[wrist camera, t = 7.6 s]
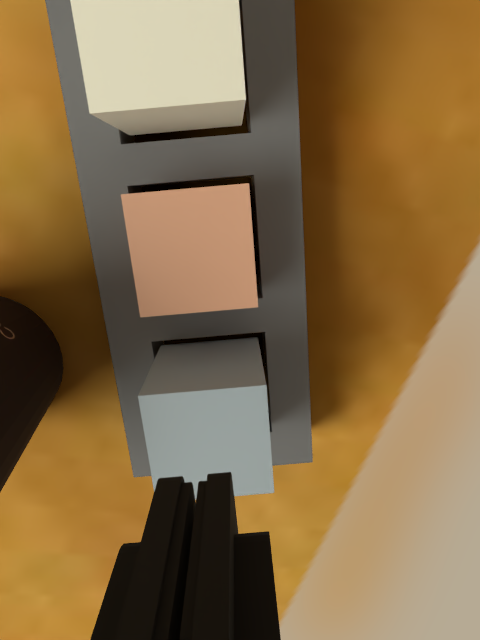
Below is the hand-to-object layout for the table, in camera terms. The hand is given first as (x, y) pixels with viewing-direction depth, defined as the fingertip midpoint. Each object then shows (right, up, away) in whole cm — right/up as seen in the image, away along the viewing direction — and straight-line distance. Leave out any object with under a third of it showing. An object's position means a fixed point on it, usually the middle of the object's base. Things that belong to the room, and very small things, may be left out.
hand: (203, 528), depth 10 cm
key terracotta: (-1, +8, +8) cm, 12 cm away
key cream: (-1, +13, +5) cm, 14 cm away
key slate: (0, +2, +8) cm, 9 cm away
